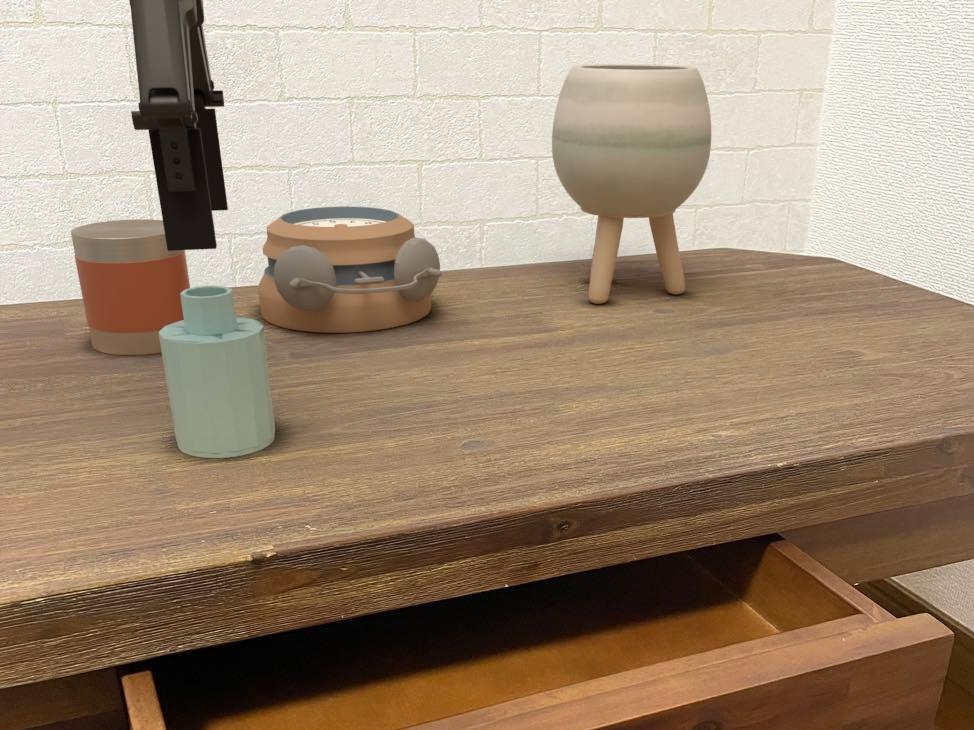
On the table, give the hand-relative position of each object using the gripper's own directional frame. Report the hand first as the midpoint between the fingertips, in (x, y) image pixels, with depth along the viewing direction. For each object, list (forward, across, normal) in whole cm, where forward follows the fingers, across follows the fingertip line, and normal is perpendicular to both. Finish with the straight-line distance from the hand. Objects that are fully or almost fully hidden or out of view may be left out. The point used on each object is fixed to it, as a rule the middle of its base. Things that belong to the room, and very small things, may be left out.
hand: (200, 228), depth 67 cm
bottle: (+14, 0, 0) cm, 15 cm away
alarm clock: (+15, +32, -10) cm, 36 cm away
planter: (+15, +37, -40) cm, 56 cm away
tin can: (+14, +27, +9) cm, 32 cm away
